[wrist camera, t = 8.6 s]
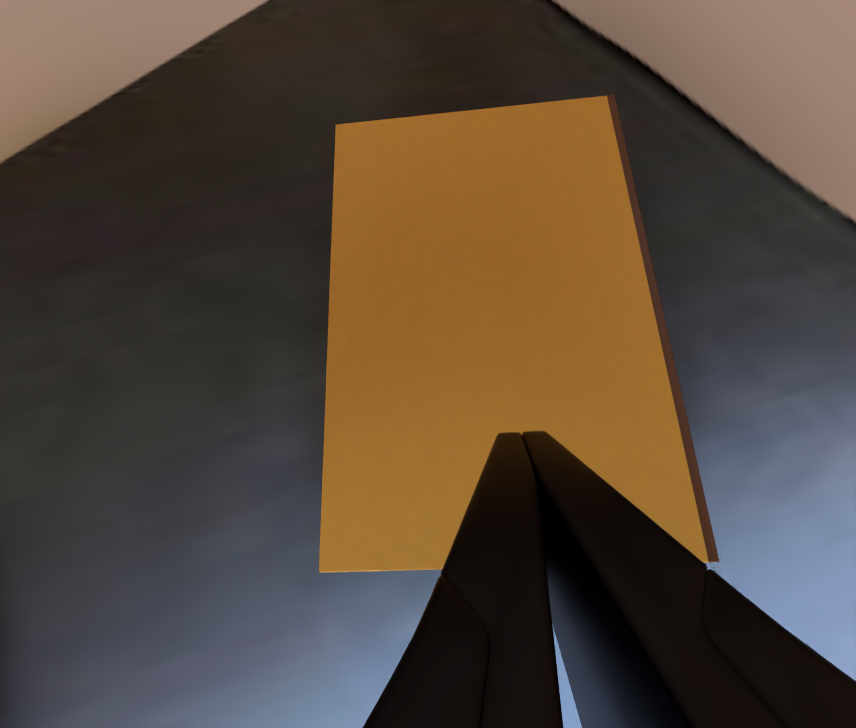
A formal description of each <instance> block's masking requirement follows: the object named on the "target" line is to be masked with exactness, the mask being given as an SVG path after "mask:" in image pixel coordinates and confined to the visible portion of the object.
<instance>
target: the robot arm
mask: <svg viewBox="0 0 856 728" xmlns="http://www.w3.org/2000/svg"><path fill="white" fill-rule="evenodd" d="M552 623H553V627H554V630H555V634H556V637H557V641H558V644H559V648H560V651H561V655H562V658H563V662H564V665H565V669H566V672H567V676H568V680H569V683H570V687H571V690H572V694H573V697H574V701H575V704H576V708H577V711H578V715H579V718H580V722H581V725H582V728H856V681H855V680H853V679H852V678H851V677H849V676H848V675H847V674H845V673H844V672H842V671H841V670H840V669H838V668H837V667H836V666H834V665H833V664H832V663H830V662H829V661H828V660H826V659H825V658H824V657H822V656H821V655H820V654H818V653H817V652H816V651H814V650H813V649H812V648H810V647H809V646H808V645H806V644H805V643H804V642H802V641H801V640H800V639H798V638H797V637H796V636H794V635H793V634H792V633H790V632H789V631H788V630H786V629H785V628H784V627H782V626H781V625H780V624H779V623H777V622H776V621H775V620H774V619H772V618H771V617H770V616H769V615H767V614H766V613H765V612H764V611H762V610H761V609H760V608H759V607H757V606H756V605H755V604H754V603H752V602H751V601H750V600H749V599H747V598H746V597H745V596H744V595H742V594H741V593H740V592H739V591H737V590H736V589H735V588H734V587H733V586H731V585H730V584H729V583H728V582H727V581H725V580H724V579H723V578H722V577H721V576H719V575H718V574H717V573H716V572H715V571H713V570H711V569H709V570H707V566H706V564H705V563H703V562H702V561H701V560H700V559H699V558H697V557H696V556H695V555H694V554H693V553H691V552H690V551H689V550H688V549H687V548H685V547H684V546H683V545H682V544H681V543H679V542H678V541H677V540H676V539H675V538H673V537H672V536H671V535H670V534H669V533H667V532H666V531H665V530H664V529H663V528H661V527H660V526H659V525H658V524H657V523H655V522H654V521H653V520H652V519H651V518H649V517H648V516H647V515H646V514H645V513H643V512H642V511H641V510H640V509H639V508H637V507H636V506H635V505H634V504H633V503H631V502H630V501H629V500H628V499H627V498H625V497H624V496H623V495H622V494H621V493H619V492H618V491H617V490H616V489H615V488H613V487H612V486H611V485H610V484H609V483H607V482H606V481H605V480H604V479H603V478H601V477H600V476H599V475H598V474H597V473H595V472H594V471H593V470H592V469H591V468H589V467H588V466H587V465H586V464H584V463H583V462H582V461H581V460H580V459H578V458H577V457H576V456H575V455H574V454H572V453H571V452H570V451H569V450H568V449H566V448H565V447H564V446H563V445H562V444H560V443H559V442H558V441H557V440H556V439H554V438H553V437H552V436H551V435H550V434H548V433H547V432H545V431H526V432H523V433H522V435H521V433H519V432H505V433H499V434H498V435H497V436H496V439H495V441H494V444H493V446H492V449H491V451H490V454H489V456H488V458H487V461H486V463H485V466H484V468H483V471H482V473H481V476H480V478H479V480H478V483H477V485H476V488H475V490H474V493H473V495H472V498H471V500H470V503H469V505H468V507H467V510H466V512H465V515H464V517H463V520H462V522H461V525H460V527H459V530H458V532H457V534H456V537H455V539H454V542H453V544H452V547H451V549H450V552H449V554H448V556H447V559H446V561H445V564H444V566H443V569H442V571H441V576H440V577H439V578H438V580H437V583H436V585H435V588H434V590H433V592H432V595H431V597H430V600H429V602H428V604H427V606H426V609H425V611H424V613H423V615H422V618H421V620H420V622H419V624H418V626H417V629H416V631H415V633H414V635H413V637H412V639H411V641H410V643H409V645H408V647H407V649H406V650H405V652H404V654H403V656H402V658H401V660H400V662H399V664H398V666H397V668H396V669H395V671H394V673H393V675H392V677H391V679H390V681H389V682H388V684H387V686H386V688H385V689H384V691H383V693H382V695H381V696H380V698H379V700H378V702H377V703H376V705H375V707H374V709H373V710H372V712H371V714H370V716H369V718H368V719H367V721H366V723H365V725H364V726H363V728H563V721H562V712H561V702H560V693H559V684H558V674H557V665H556V655H555V646H554V636H553V627H552Z"/></svg>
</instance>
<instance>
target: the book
mask: <svg viewBox="0 0 856 728" xmlns="http://www.w3.org/2000/svg"><path fill="white" fill-rule="evenodd" d="M526 431H545V432H547V433H548V434H550V435H551V436H552V437H553V438H554V439H556V440H557V441H558V442H559V443H560V444H562V445H563V446H564V447H565V448H566V449H568V450H569V451H570V452H571V453H572V454H574V455H575V456H576V457H577V458H578V459H580V460H581V461H582V462H583V463H584V464H586V465H587V466H588V467H589V468H591V469H592V470H593V471H594V472H595V473H597V474H598V475H599V476H600V477H601V478H603V479H604V480H605V481H606V482H607V483H609V484H610V485H611V486H612V487H613V488H615V489H616V490H617V491H618V492H619V493H621V494H622V495H623V496H624V497H625V498H627V499H628V500H629V501H630V502H631V503H633V504H634V505H635V506H636V507H637V508H639V509H640V510H641V511H642V512H643V513H645V514H646V515H647V516H648V517H649V518H651V519H652V520H653V521H654V522H655V523H657V524H658V525H659V526H660V527H661V528H663V529H664V530H665V531H666V532H667V533H669V534H670V535H671V536H672V537H673V538H675V539H676V540H677V541H678V542H679V543H681V544H682V545H683V546H684V547H685V548H687V549H688V550H689V551H690V552H691V553H693V554H694V555H695V556H696V557H697V558H699V559H700V560H701V561H702V562H703V563H705V562H719V558H718V553H717V549H716V544H715V540H714V536H713V531H712V527H711V522H710V518H709V513H708V509H707V505H706V500H705V496H704V491H703V487H702V482H701V478H700V474H699V469H698V465H697V460H696V456H695V451H694V447H693V443H692V438H691V434H690V429H689V425H688V420H687V416H686V412H685V407H684V403H683V398H682V394H681V389H680V385H679V381H678V376H677V372H676V367H675V363H674V358H673V354H672V350H671V345H670V341H669V336H668V332H667V327H666V323H665V319H664V314H663V310H662V305H661V301H660V296H659V292H658V288H657V283H656V279H655V274H654V270H653V265H652V261H651V257H650V252H649V248H648V243H647V239H646V234H645V230H644V226H643V221H642V217H641V212H640V208H639V203H638V199H637V195H636V190H635V186H634V181H633V177H632V172H631V168H630V164H629V159H628V155H627V150H626V146H625V141H624V137H623V133H622V128H621V124H620V119H619V115H618V110H617V106H616V102H615V97H614V95H609V96H600V97H590V98H581V99H572V100H562V101H553V102H544V103H534V104H525V105H516V106H506V107H497V108H488V109H478V110H469V111H460V112H450V113H441V114H431V115H422V116H413V117H403V118H394V119H385V120H375V121H366V122H357V123H347V124H338V125H336V135H335V162H334V188H333V215H332V241H331V268H330V294H329V321H328V347H327V374H326V400H325V427H324V454H323V480H322V507H321V533H320V560H319V572H320V573H322V572H361V571H399V570H437V569H443V566H444V564H445V561H446V559H447V556H448V554H449V552H450V549H451V547H452V544H453V542H454V539H455V537H456V534H457V532H458V530H459V527H460V525H461V522H462V520H463V517H464V515H465V512H466V510H467V507H468V505H469V503H470V500H471V498H472V495H473V493H474V490H475V488H476V485H477V483H478V480H479V478H480V476H481V473H482V471H483V468H484V466H485V463H486V461H487V458H488V456H489V454H490V451H491V449H492V446H493V444H494V441H495V439H496V436H497V435H498V434H499V433H505V432H519V433H521V435H522V433H523V432H526Z"/></svg>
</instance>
